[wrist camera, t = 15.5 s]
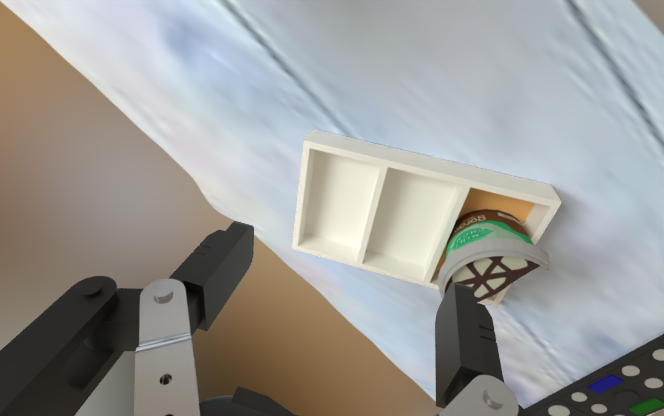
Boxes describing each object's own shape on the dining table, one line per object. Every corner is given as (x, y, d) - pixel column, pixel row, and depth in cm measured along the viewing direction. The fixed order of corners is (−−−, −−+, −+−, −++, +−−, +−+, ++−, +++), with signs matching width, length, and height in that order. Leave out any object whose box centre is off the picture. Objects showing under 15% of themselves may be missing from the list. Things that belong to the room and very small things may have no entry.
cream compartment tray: (300, 234, 53) (291, 250, 50) (313, 128, 44) (303, 140, 40) (492, 287, 49) (496, 308, 46) (551, 184, 40) (562, 202, 37)
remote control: (513, 412, 63) (515, 423, 62) (675, 323, 46) (684, 335, 45) (565, 439, 64) (569, 451, 62) (744, 361, 47) (756, 374, 45)
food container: (492, 180, 40) (507, 228, 32) (529, 211, 41) (553, 266, 33) (417, 240, 47) (414, 293, 39) (450, 266, 48) (454, 323, 40)
